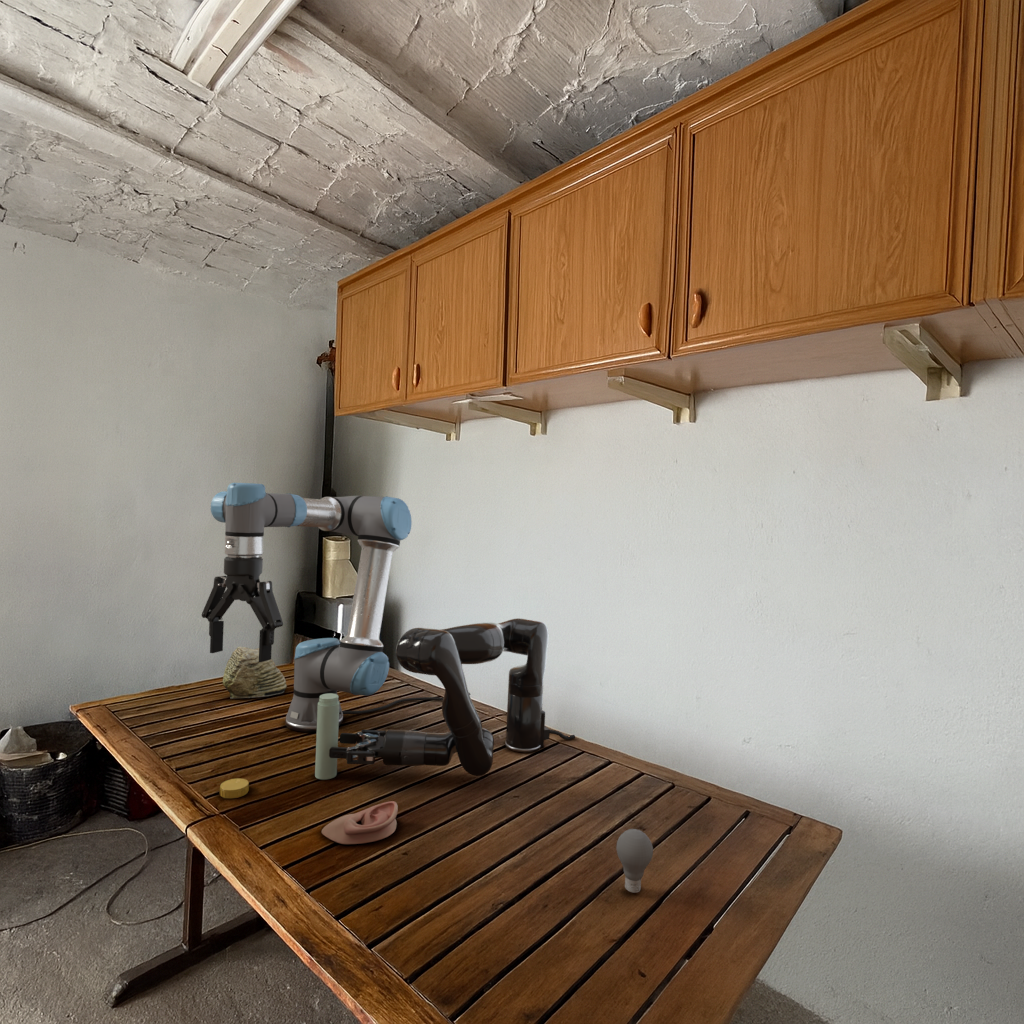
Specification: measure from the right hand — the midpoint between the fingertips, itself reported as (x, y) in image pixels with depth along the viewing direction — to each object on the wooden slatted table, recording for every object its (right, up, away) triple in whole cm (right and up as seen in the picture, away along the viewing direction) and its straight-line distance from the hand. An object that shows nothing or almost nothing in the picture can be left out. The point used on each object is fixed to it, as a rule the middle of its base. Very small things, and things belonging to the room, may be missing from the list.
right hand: (335, 745), depth 144 cm
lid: (-18, -5, -10) cm, 22 cm away
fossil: (-40, -4, +54) cm, 67 cm away
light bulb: (+60, -10, -39) cm, 73 cm away
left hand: (-17, +23, -10) cm, 30 cm away
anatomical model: (+11, -8, -23) cm, 27 cm away
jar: (-2, -7, 0) cm, 7 cm away
